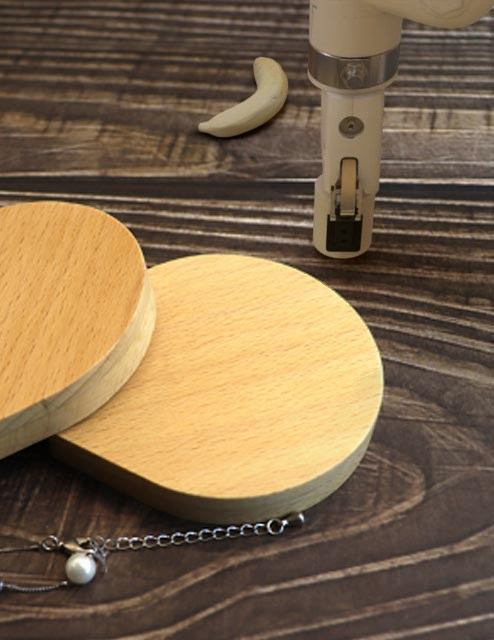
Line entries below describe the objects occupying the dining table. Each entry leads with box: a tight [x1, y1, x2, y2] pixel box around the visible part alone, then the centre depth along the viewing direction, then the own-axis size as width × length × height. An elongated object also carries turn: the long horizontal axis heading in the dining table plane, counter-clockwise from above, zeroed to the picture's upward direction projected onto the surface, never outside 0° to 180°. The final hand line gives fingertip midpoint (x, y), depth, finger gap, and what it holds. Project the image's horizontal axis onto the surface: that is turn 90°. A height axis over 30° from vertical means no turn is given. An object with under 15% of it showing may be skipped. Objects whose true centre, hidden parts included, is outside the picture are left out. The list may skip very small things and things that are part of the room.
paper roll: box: [312, 173, 376, 259], centre depth 97 cm, size 6×6×7 cm
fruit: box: [198, 56, 289, 138], centre depth 119 cm, size 7×15×3 cm, turn 147°
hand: (342, 227), depth 98 cm, fingers closed on paper roll, 5 cm apart
